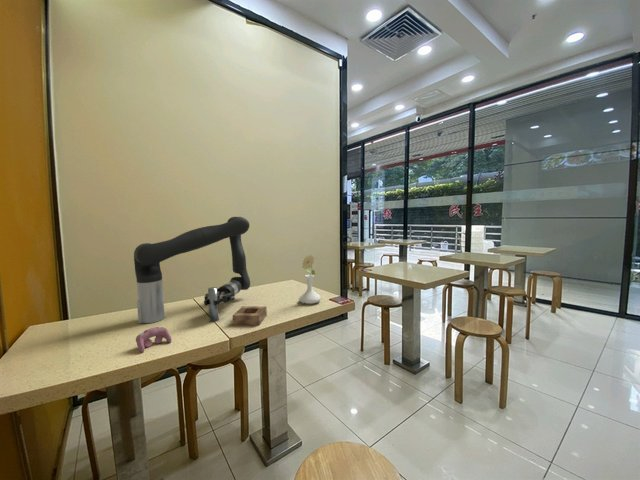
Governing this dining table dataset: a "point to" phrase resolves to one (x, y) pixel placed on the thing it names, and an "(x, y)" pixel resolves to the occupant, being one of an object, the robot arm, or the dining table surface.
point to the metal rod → (213, 309)
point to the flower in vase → (309, 283)
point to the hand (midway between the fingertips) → (210, 303)
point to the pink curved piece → (156, 331)
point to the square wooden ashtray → (249, 315)
